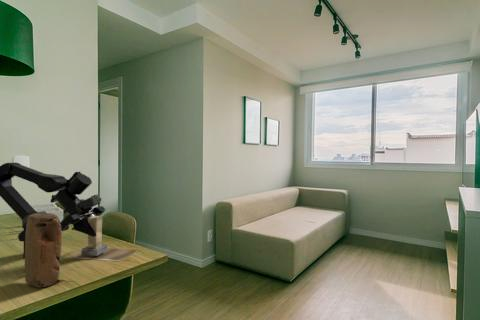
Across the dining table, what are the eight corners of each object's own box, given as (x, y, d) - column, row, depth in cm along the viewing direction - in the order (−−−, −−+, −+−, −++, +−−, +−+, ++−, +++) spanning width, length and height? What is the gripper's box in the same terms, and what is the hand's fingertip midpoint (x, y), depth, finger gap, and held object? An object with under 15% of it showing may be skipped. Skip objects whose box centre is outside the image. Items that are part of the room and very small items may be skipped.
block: (22, 280, 82) (23, 214, 82) (51, 272, 88) (52, 210, 88) (33, 292, 75) (34, 220, 75) (64, 283, 81) (65, 215, 81)
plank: (67, 262, 97) (67, 257, 97) (89, 250, 109) (89, 246, 109) (121, 265, 95) (121, 261, 95) (137, 253, 107) (137, 249, 107)
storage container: (63, 233, 132) (63, 210, 132) (34, 237, 125) (35, 213, 125) (53, 223, 150) (53, 203, 150) (27, 226, 143) (28, 205, 143)
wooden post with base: (81, 254, 98) (82, 218, 98) (92, 249, 104) (93, 214, 104) (97, 255, 97) (98, 219, 97) (107, 250, 103) (107, 215, 103)
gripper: (67, 191, 91) (97, 226, 90) (101, 185, 110) (127, 214, 109) (45, 213, 92) (74, 248, 91) (82, 204, 111) (107, 233, 110)
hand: (98, 234), depth 100 cm, fingers closed on wooden post with base, 3 cm apart
